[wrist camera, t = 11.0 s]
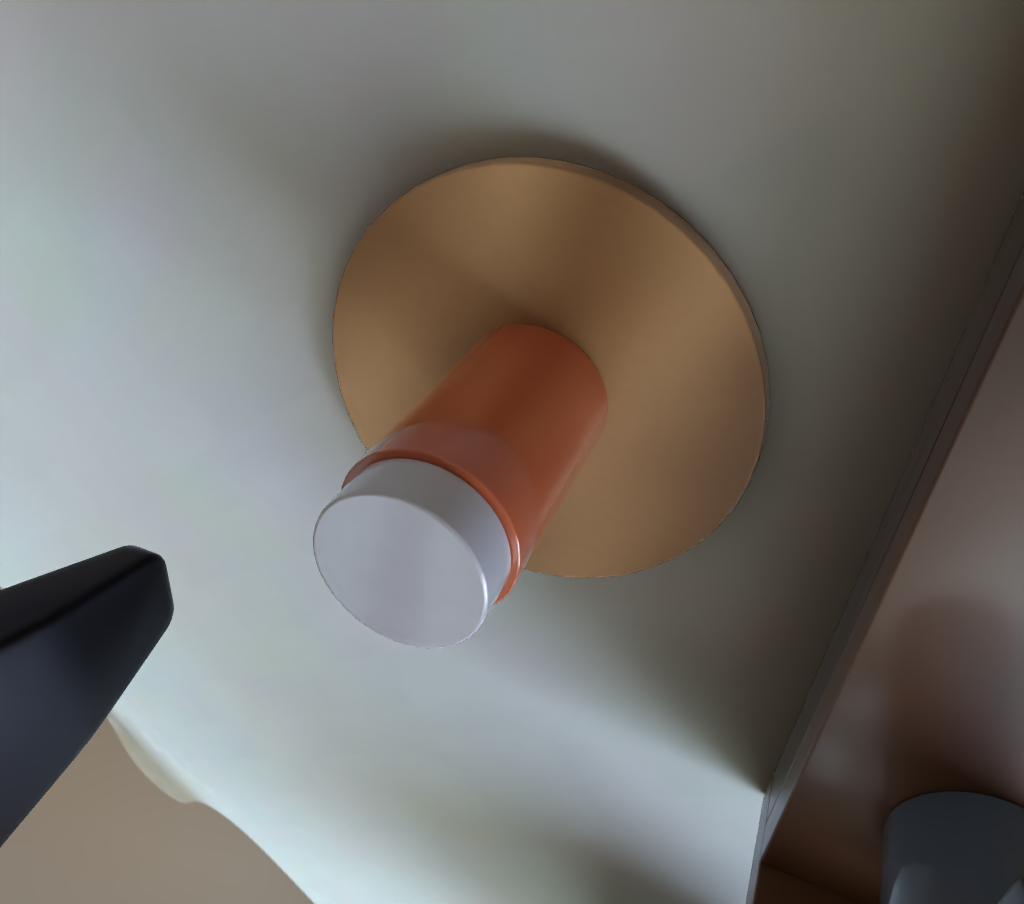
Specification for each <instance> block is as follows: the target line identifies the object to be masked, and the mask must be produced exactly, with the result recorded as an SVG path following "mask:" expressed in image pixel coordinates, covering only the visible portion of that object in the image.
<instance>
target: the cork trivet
mask: <svg viewBox="0 0 1024 904" xmlns="http://www.w3.org/2000/svg"><path fill="white" fill-rule="evenodd" d="M514 324H528V325H535V326H540V327H543V328H547V329H550V330H552V331H554V332H557V333H559V334H561V335H562V336H564V337H566V338H567V339H569V340H571V341H572V342H573V343H574V344H576V345H577V346H578V347H579V348H580V349H581V350H582V351H583V352H584V353H585V354H586V355H587V356H588V357H589V358H590V360H591V361H592V362H593V364H594V365H595V367H596V368H597V370H598V372H599V374H600V376H601V378H602V380H603V383H604V386H605V389H606V393H607V399H608V416H607V422H606V425H605V429H604V431H603V433H602V435H601V437H600V439H599V441H598V442H597V444H596V446H595V447H594V449H593V451H592V453H591V454H590V456H589V458H588V460H587V461H586V463H585V465H584V466H583V468H582V470H581V472H580V473H579V475H578V477H577V478H576V480H575V482H574V484H573V485H572V487H571V489H570V490H569V492H568V494H567V496H566V497H565V499H564V501H563V503H562V504H561V506H560V508H559V509H558V511H557V513H556V515H555V516H554V518H553V520H552V521H551V523H550V525H549V527H548V528H547V530H546V532H545V534H544V535H543V537H542V539H541V540H540V542H539V544H538V546H537V547H536V549H535V551H534V552H533V554H532V556H531V558H530V559H529V561H528V563H527V565H526V566H525V568H524V569H526V570H530V571H533V572H538V573H543V574H549V575H555V576H562V577H578V578H595V577H611V576H617V575H623V574H629V573H634V572H638V571H641V570H644V569H648V568H651V567H654V566H657V565H660V564H662V563H664V562H666V561H668V560H671V559H673V558H675V557H677V556H679V555H681V554H683V553H684V552H686V551H687V550H689V549H690V548H692V547H693V546H695V545H697V544H698V543H700V542H701V541H702V540H704V539H705V538H706V537H707V536H708V535H709V534H710V533H712V532H713V531H714V530H715V529H716V528H717V527H718V526H720V524H721V523H722V522H723V521H724V520H725V518H726V517H727V516H728V515H729V514H730V512H731V511H732V510H733V509H734V508H735V507H736V505H737V503H738V502H739V500H740V498H741V497H742V495H743V493H744V492H745V490H746V488H747V487H748V485H749V483H750V481H751V478H752V476H753V473H754V471H755V468H756V466H757V463H758V461H759V458H760V454H761V450H762V446H763V442H764V437H765V433H766V428H767V424H768V414H769V399H770V389H769V378H768V366H767V360H766V356H765V352H764V348H763V343H762V339H761V335H760V332H759V329H758V327H757V324H756V322H755V319H754V317H753V314H752V312H751V309H750V306H749V304H748V302H747V300H746V299H745V297H744V295H743V293H742V291H741V290H740V288H739V286H738V284H737V282H736V281H735V279H734V277H733V275H732V274H731V273H730V271H729V270H728V269H727V267H726V266H725V265H724V263H723V262H722V261H721V259H720V258H719V257H718V255H717V254H716V253H715V251H714V250H713V249H712V247H711V246H710V245H709V244H708V243H707V242H706V241H705V240H704V239H703V238H702V237H701V236H700V235H699V234H698V233H697V232H696V231H695V230H694V229H693V228H692V227H691V226H690V225H689V224H688V223H687V222H686V221H684V220H683V219H682V218H681V217H679V216H678V215H677V214H675V213H674V212H673V211H672V210H670V209H669V208H668V207H667V206H665V205H664V204H663V203H661V202H660V201H659V200H657V199H655V198H653V197H652V196H650V195H648V194H647V193H645V192H643V191H642V190H640V189H638V188H637V187H635V186H633V185H632V184H630V183H627V182H625V181H623V180H620V179H618V178H616V177H613V176H611V175H609V174H606V173H604V172H602V171H599V170H596V169H592V168H589V167H585V166H581V165H578V164H574V163H571V162H567V161H560V160H552V159H545V158H537V157H503V158H497V159H491V160H484V161H478V162H473V163H470V164H466V165H463V166H460V167H457V168H454V169H451V170H448V171H445V172H443V173H441V174H439V175H437V176H435V177H433V178H431V179H429V180H427V181H425V182H423V183H421V184H420V185H418V186H416V187H415V188H413V189H411V190H410V191H409V192H407V193H406V194H405V195H403V196H402V197H400V198H399V199H398V200H396V201H395V202H393V203H392V204H391V205H390V206H389V207H388V208H387V209H386V210H385V211H384V212H383V213H382V214H381V215H380V216H379V217H378V218H377V219H376V220H375V221H374V222H373V223H372V224H371V225H370V227H369V228H368V229H367V231H366V232H365V234H364V235H363V236H362V238H361V239H360V241H359V242H358V243H357V245H356V247H355V249H354V251H353V253H352V255H351V257H350V259H349V261H348V263H347V265H346V267H345V270H344V273H343V277H342V280H341V283H340V286H339V289H338V293H337V299H336V304H335V310H334V317H333V350H334V360H335V368H336V372H337V377H338V382H339V386H340V391H341V394H342V396H343V399H344V402H345V405H346V408H347V411H348V414H349V416H350V418H351V421H352V423H353V425H354V427H355V429H356V431H357V434H358V436H359V438H360V439H361V441H362V443H363V444H364V446H365V448H366V449H367V451H369V450H370V449H371V448H372V447H373V446H374V445H375V444H376V442H377V441H378V440H379V439H380V438H381V437H382V436H383V435H384V434H385V433H386V432H387V431H388V430H389V429H390V428H391V427H392V426H393V425H394V424H395V423H396V422H397V421H398V420H399V419H400V418H401V417H402V416H403V415H404V414H405V413H406V412H407V411H408V410H409V409H410V408H411V407H412V406H413V405H414V404H415V403H416V402H417V401H418V400H419V399H420V398H421V397H422V396H423V395H424V394H425V393H426V392H427V391H428V390H429V389H430V388H431V387H432V385H433V384H434V383H435V382H436V381H437V380H438V379H439V378H440V377H441V376H442V375H443V374H444V373H445V372H446V371H447V370H448V369H449V368H450V367H451V366H452V365H453V364H454V363H455V362H456V361H457V360H458V359H459V358H460V357H461V356H462V355H463V354H464V353H465V352H466V351H467V350H468V349H469V348H470V347H471V346H472V345H473V344H474V343H475V342H476V341H477V340H478V339H479V338H480V337H482V336H483V335H484V334H486V333H488V332H489V331H491V330H493V329H496V328H499V327H502V326H507V325H514Z"/></svg>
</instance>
